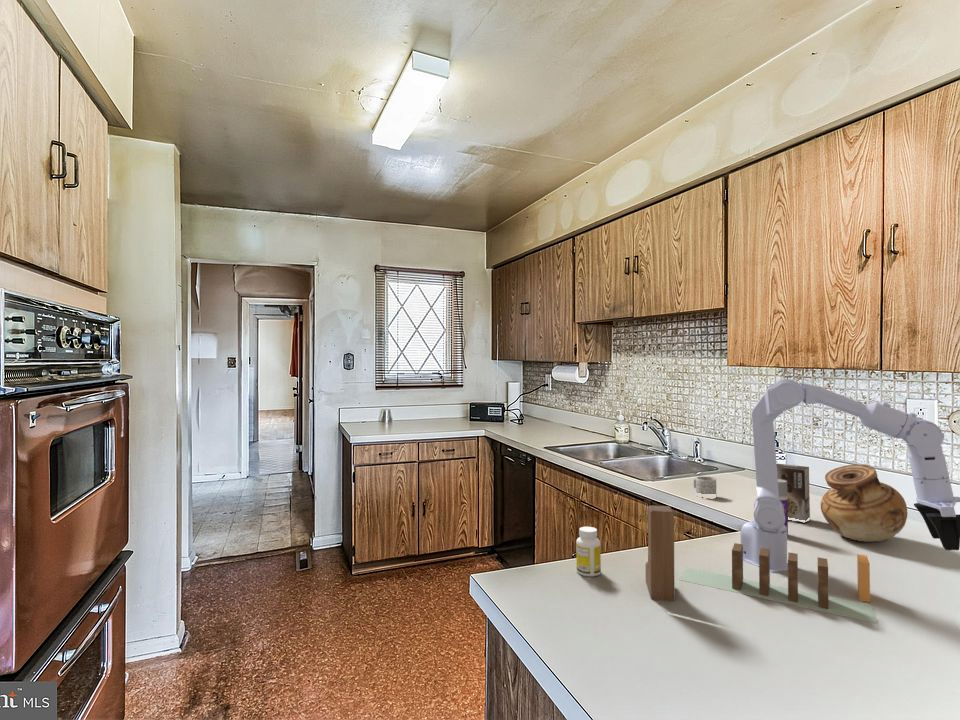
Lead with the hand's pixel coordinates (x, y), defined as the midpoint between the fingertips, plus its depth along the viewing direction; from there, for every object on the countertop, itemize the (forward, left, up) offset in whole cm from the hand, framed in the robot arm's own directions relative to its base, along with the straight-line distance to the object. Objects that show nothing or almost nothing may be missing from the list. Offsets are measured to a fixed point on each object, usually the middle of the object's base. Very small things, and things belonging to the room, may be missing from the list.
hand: (945, 543), depth 103 cm
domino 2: (-14, -34, -10) cm, 38 cm away
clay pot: (-28, +20, -11) cm, 36 cm away
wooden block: (-22, -54, -11) cm, 59 cm away
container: (-39, +2, -11) cm, 41 cm away
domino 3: (-10, -31, -10) cm, 34 cm away
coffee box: (-48, +19, -11) cm, 53 cm away
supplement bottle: (-36, -62, -11) cm, 73 cm away
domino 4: (-6, -28, -10) cm, 30 cm away
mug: (-79, +15, -11) cm, 81 cm away
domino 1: (-18, -37, -10) cm, 42 cm away
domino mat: (-13, -33, -11) cm, 37 cm away
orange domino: (-5, -17, -11) cm, 21 cm away
